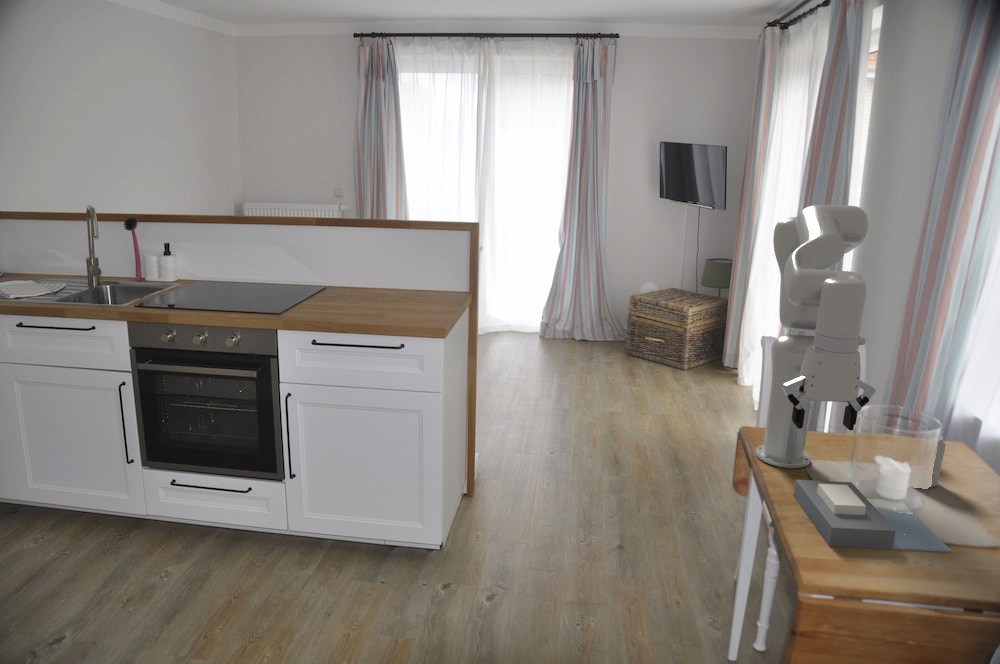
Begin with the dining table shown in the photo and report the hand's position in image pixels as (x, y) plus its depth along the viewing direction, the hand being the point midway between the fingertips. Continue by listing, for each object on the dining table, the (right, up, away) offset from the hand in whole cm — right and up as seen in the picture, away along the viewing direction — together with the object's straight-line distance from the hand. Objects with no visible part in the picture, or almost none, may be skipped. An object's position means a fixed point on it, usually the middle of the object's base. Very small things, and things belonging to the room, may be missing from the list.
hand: (822, 426), depth 136 cm
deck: (+7, -21, +8) cm, 23 cm away
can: (+35, -17, +26) cm, 46 cm away
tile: (+7, -17, +7) cm, 19 cm away
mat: (+19, -21, +8) cm, 29 cm away
